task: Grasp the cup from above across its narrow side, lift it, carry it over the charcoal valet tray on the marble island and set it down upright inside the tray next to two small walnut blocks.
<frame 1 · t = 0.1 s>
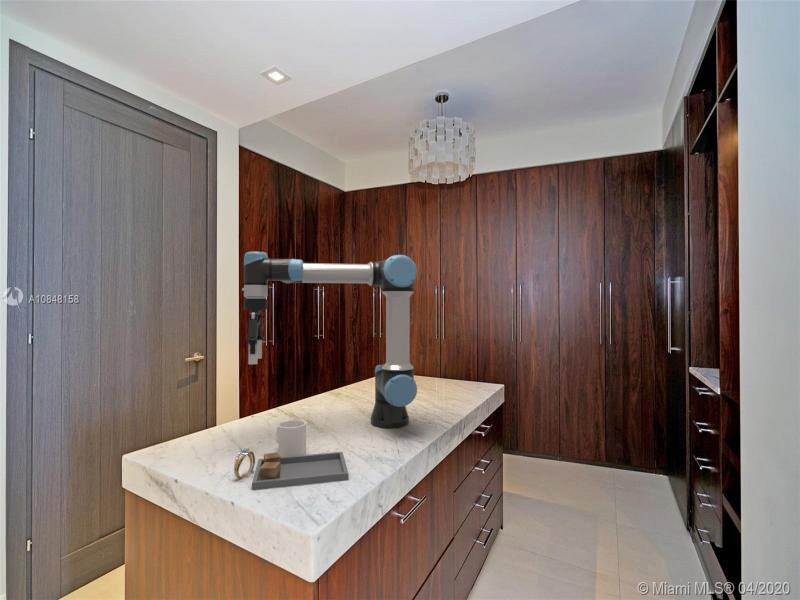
hand: (255, 361, 135), 28 cm above the counter, fingers open, 13 cm apart
tray: (301, 474, 111), on the counter
cup: (288, 455, 125), on the counter
ring: (244, 479, 108), on the counter
block b: (270, 480, 105), point 1 cm above the counter, touching tray
block a: (272, 469, 112), point 1 cm above the counter, touching tray
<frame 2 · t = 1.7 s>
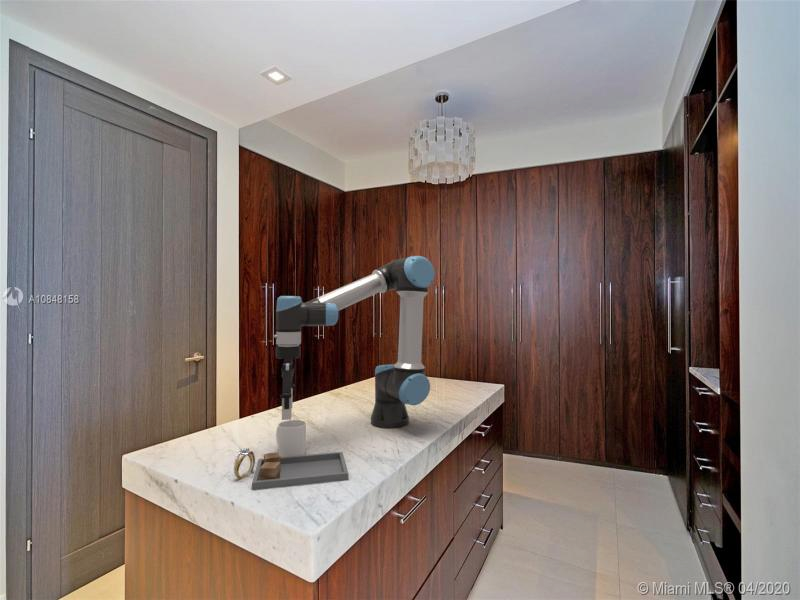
hand: (287, 413, 125), 13 cm above the counter, fingers open, 13 cm apart
nothing on the counter moved.
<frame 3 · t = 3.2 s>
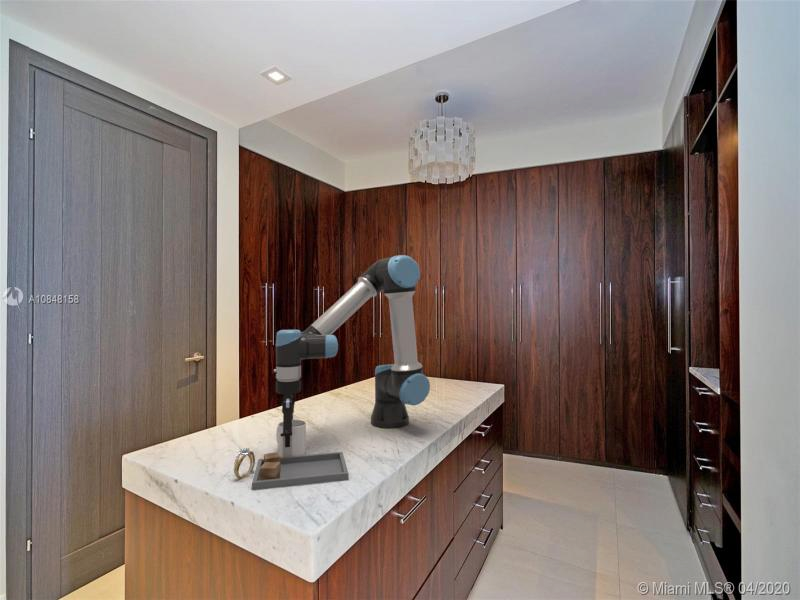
hand: (288, 450, 125), 2 cm above the counter, fingers open, 11 cm apart
cup: (288, 455, 125), on the counter, touching gripper
everything else where it was.
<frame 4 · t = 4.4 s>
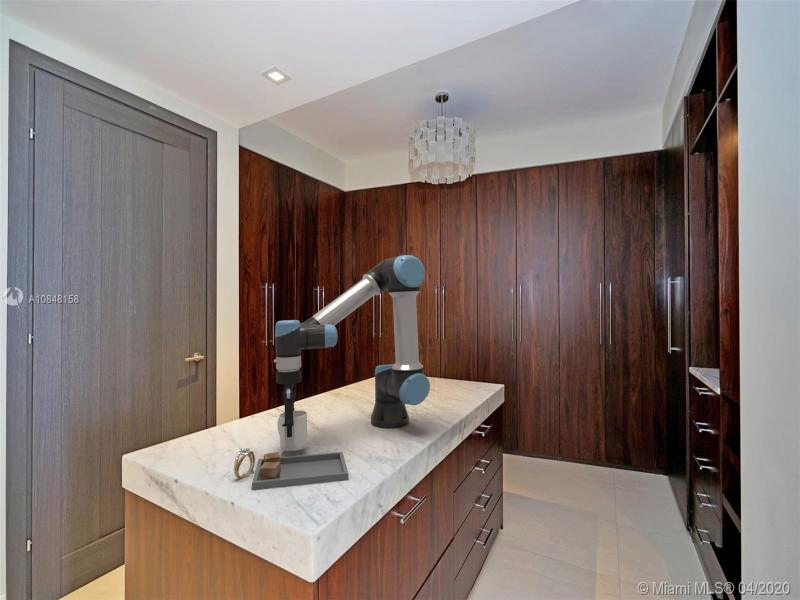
hand: (290, 441, 126), 4 cm above the counter, fingers closed on cup, 10 cm apart
cup: (290, 445, 126), point 2 cm above the counter, touching gripper
everything else where it was.
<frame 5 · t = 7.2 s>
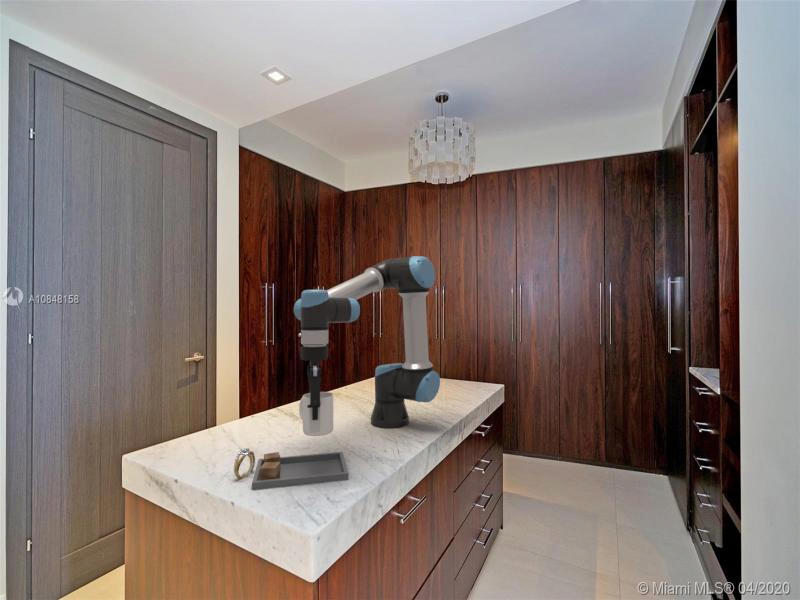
hand: (314, 425, 112), 13 cm above the counter, fingers closed on cup, 10 cm apart
cup: (313, 431, 112), point 12 cm above the counter, touching gripper
everything else where it was.
when the fingers open (3 cm above the counter, at t = 9.8 s): cup stays where it is, resting on tray.
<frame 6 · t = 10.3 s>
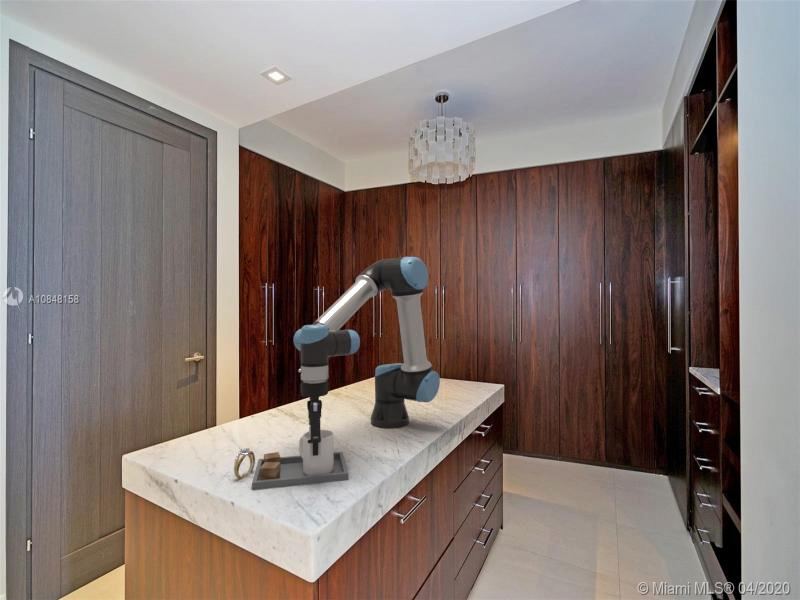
hand: (314, 457, 112), 5 cm above the counter, fingers open, 13 cm apart
cup: (313, 470, 112), point 1 cm above the counter, touching tray
everything else where it was.
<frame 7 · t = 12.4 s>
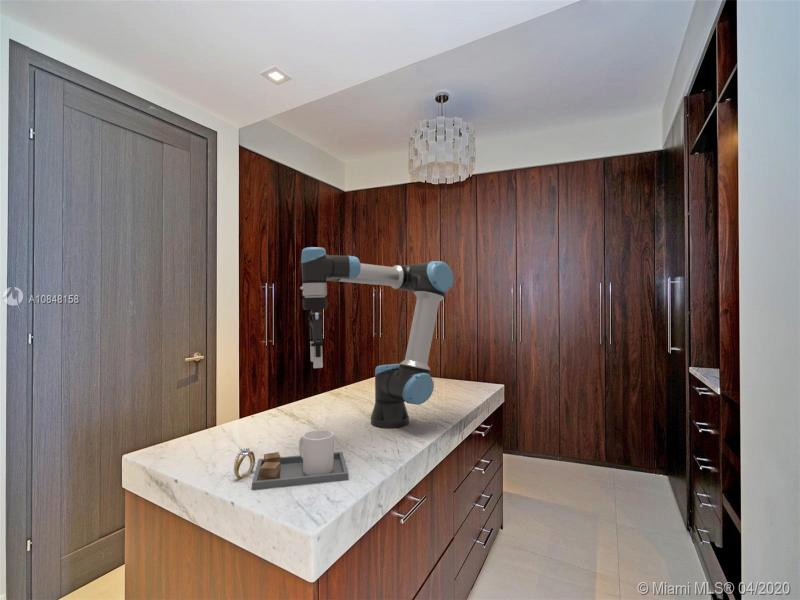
hand: (316, 364, 127), 28 cm above the counter, fingers open, 13 cm apart
nothing on the counter moved.
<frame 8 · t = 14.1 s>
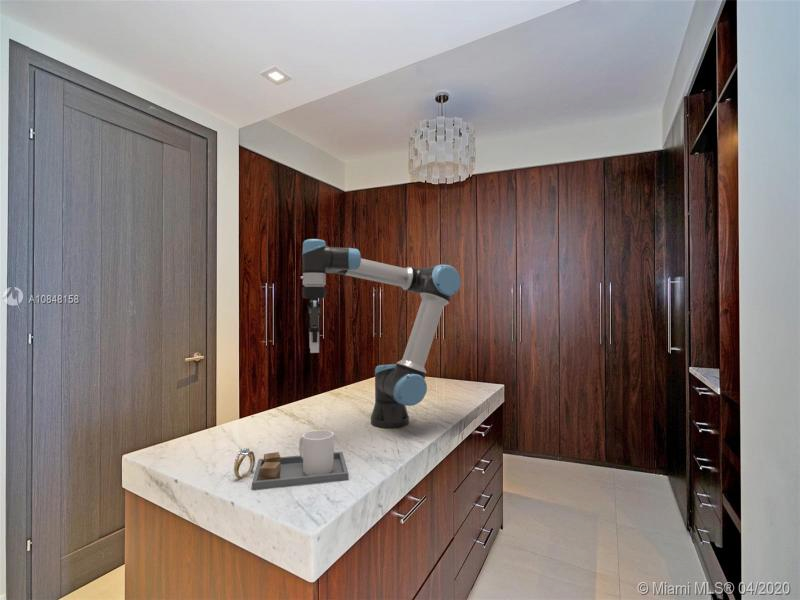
hand: (314, 350, 133), 32 cm above the counter, fingers open, 13 cm apart
nothing on the counter moved.
at the end: cup inside the target area on the tray (3.4 cm from its centre), point 0.6 cm above the tray's base; cup tilted 0°; the gripper is holding nothing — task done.
